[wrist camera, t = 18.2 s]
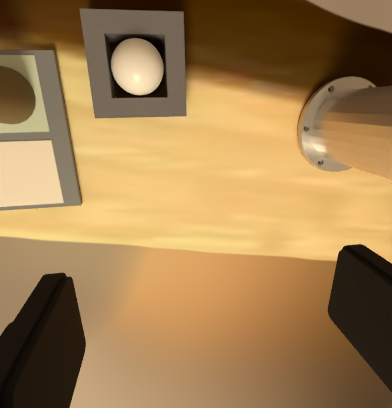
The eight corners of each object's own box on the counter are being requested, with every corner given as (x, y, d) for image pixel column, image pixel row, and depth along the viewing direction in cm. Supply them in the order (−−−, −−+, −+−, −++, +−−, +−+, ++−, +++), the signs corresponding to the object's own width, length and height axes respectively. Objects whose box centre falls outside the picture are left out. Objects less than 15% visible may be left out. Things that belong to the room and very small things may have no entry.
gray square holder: (179, 23, 31) (183, 11, 27) (182, 114, 34) (186, 116, 30) (88, 20, 29) (79, 8, 26) (101, 116, 33) (95, 118, 29)
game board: (55, 51, 30) (52, 50, 29) (82, 203, 36) (80, 205, 35) (-65, 50, 28) (-72, 49, 27) (-16, 209, 34) (-20, 211, 34)
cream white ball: (161, 44, 31) (162, 32, 26) (163, 95, 32) (165, 93, 27) (112, 43, 30) (104, 31, 25) (118, 96, 32) (111, 94, 27)
